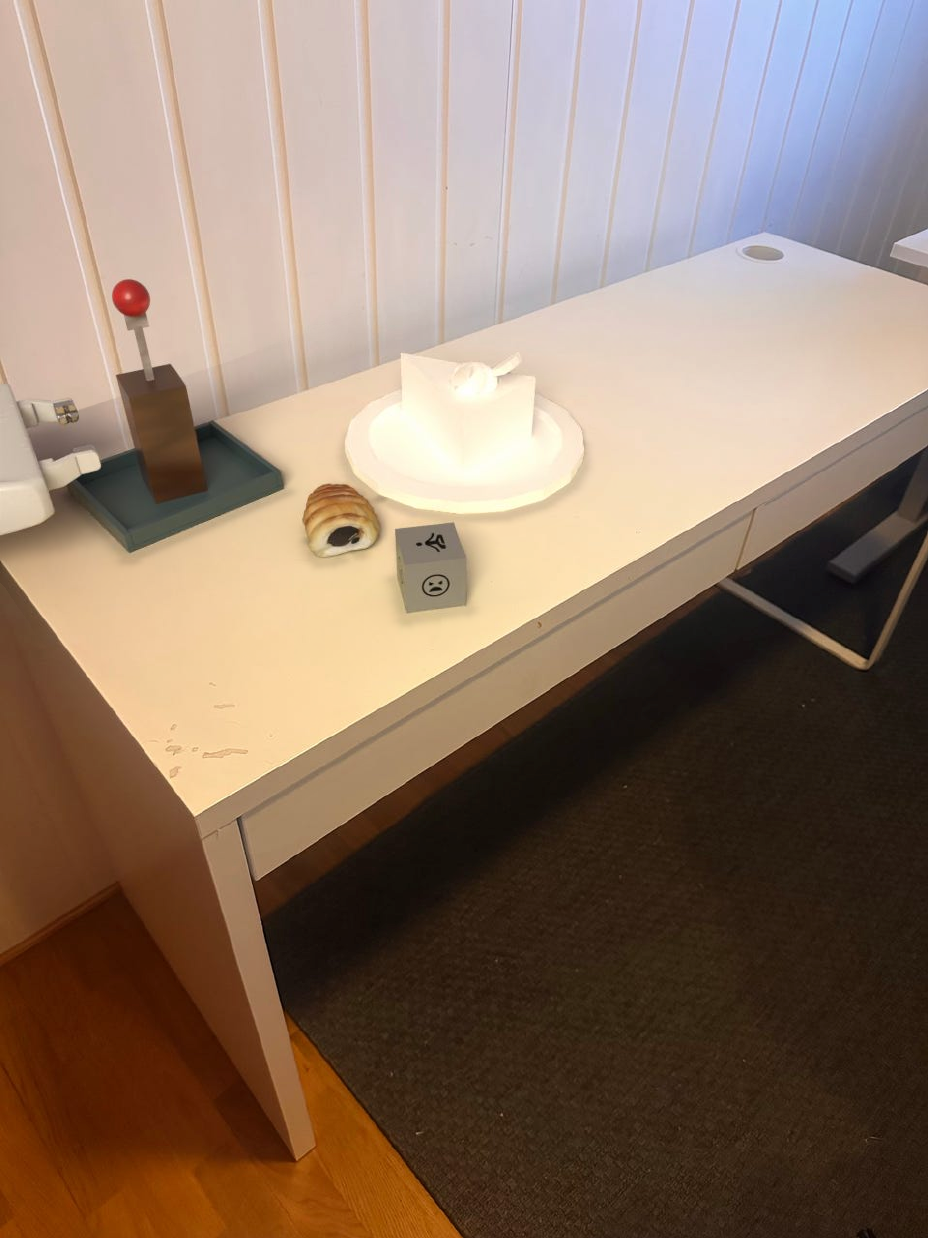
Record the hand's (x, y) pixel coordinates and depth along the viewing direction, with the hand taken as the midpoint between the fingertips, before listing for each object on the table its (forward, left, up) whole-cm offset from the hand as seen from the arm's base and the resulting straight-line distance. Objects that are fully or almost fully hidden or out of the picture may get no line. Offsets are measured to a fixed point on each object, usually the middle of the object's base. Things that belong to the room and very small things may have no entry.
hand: (86, 431), depth 79 cm
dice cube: (+15, -29, -8) cm, 34 cm away
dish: (+33, -13, -8) cm, 37 cm away
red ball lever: (+6, -1, -8) cm, 10 cm away
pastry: (+14, -17, -8) cm, 24 cm away
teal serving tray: (+6, -1, -8) cm, 10 cm away
